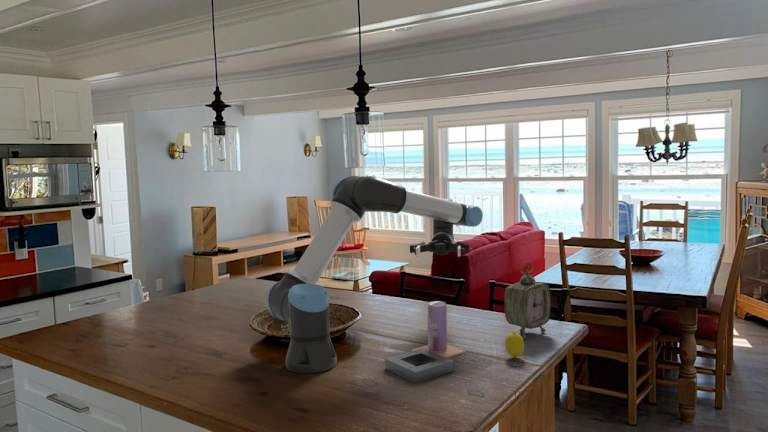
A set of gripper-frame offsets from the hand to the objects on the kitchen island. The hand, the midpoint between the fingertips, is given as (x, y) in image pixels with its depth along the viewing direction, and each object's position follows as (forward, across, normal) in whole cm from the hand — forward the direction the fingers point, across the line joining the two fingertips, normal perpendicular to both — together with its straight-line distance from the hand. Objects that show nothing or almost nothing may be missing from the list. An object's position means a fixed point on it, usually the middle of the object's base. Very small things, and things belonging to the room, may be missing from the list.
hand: (437, 252), depth 181 cm
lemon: (+13, -23, -30) cm, 40 cm away
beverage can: (+10, 0, -30) cm, 31 cm away
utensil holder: (-4, +56, -30) cm, 64 cm away
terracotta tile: (+10, 0, -30) cm, 32 cm away
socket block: (+25, +4, -30) cm, 39 cm away
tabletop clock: (-11, -29, -30) cm, 43 cm away
